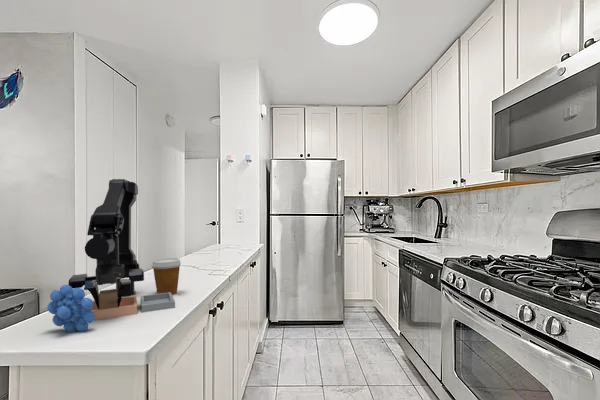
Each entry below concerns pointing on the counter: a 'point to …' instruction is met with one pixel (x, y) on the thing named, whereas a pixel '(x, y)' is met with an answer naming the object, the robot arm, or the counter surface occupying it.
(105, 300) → the block
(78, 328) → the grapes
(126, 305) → the dish
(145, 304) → the tray
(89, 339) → the counter surface
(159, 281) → the disposable coffee cup
